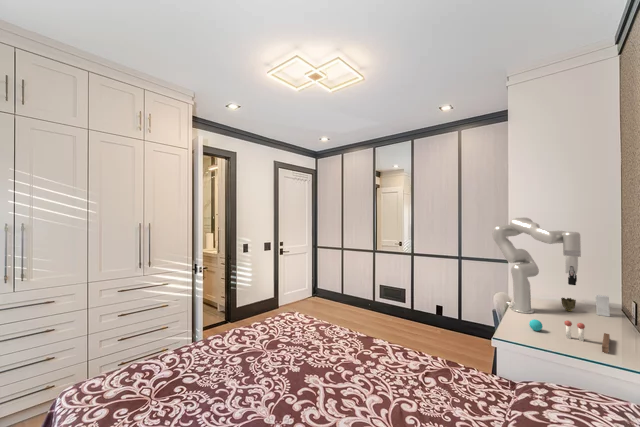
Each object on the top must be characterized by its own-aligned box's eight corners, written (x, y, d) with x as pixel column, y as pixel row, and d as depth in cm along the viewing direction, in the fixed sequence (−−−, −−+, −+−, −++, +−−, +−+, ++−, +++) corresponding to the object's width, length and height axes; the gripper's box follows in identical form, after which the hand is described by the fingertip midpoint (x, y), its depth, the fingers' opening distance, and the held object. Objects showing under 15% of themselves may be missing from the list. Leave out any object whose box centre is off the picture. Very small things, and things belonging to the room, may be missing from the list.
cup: (573, 309, 191) (573, 297, 191) (578, 313, 185) (577, 301, 185) (559, 308, 194) (559, 296, 195) (563, 312, 188) (563, 300, 188)
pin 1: (564, 337, 151) (564, 320, 151) (565, 335, 153) (564, 319, 153) (572, 339, 149) (571, 322, 149) (572, 337, 151) (572, 320, 151)
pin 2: (577, 340, 147) (576, 323, 147) (577, 338, 149) (577, 321, 150) (585, 342, 145) (584, 324, 145) (585, 340, 147) (585, 322, 147)
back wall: (602, 352, 135) (602, 346, 135) (604, 338, 148) (603, 333, 148) (608, 353, 133) (608, 347, 133) (609, 339, 147) (609, 334, 147)
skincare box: (609, 315, 180) (609, 295, 180) (610, 317, 177) (609, 297, 177) (596, 313, 184) (595, 294, 184) (596, 315, 181) (595, 295, 181)
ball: (528, 330, 161) (527, 319, 161) (530, 327, 165) (530, 317, 165) (541, 333, 157) (541, 322, 157) (543, 330, 161) (543, 319, 161)
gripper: (564, 251, 173) (565, 279, 173) (562, 254, 160) (562, 285, 160) (581, 252, 167) (581, 281, 167) (580, 255, 155) (580, 287, 155)
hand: (572, 283), depth 164 cm, fingers open, 9 cm apart
